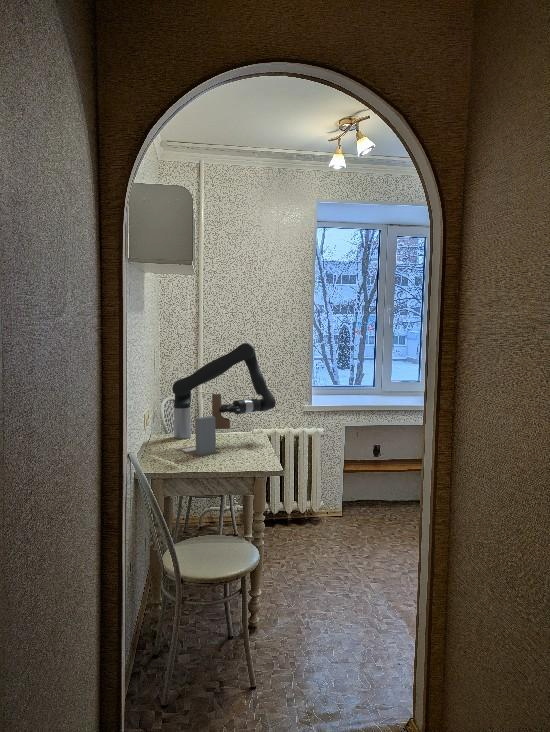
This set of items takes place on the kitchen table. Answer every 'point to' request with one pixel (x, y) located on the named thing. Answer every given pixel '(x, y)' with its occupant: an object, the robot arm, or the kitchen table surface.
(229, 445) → the kitchen table surface
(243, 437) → the kitchen table surface
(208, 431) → the slate post
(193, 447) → the base board
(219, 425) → the wooden block
